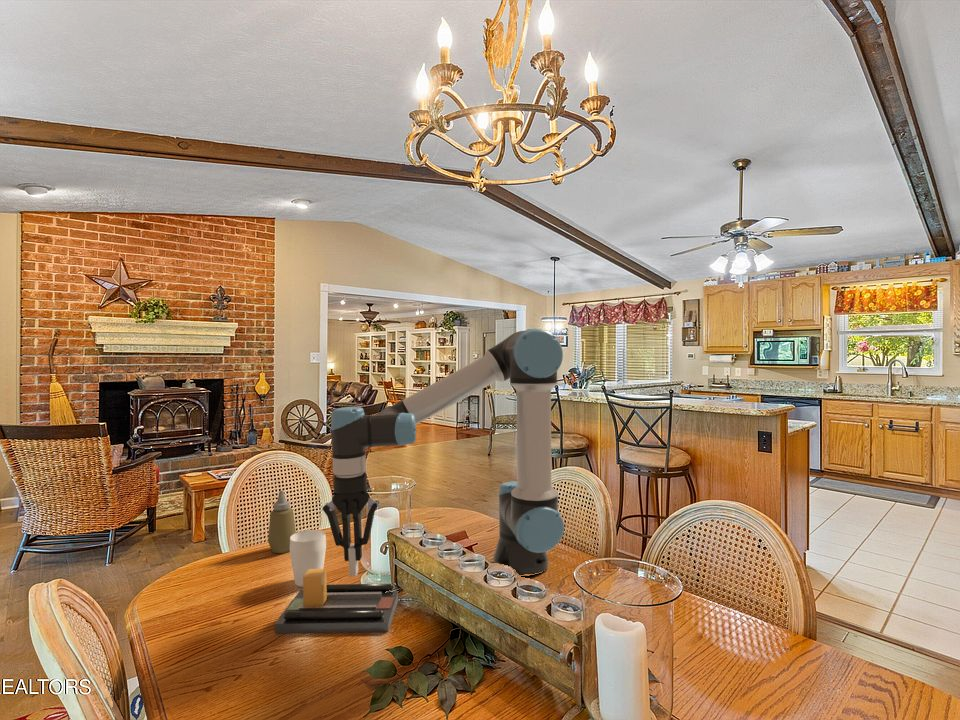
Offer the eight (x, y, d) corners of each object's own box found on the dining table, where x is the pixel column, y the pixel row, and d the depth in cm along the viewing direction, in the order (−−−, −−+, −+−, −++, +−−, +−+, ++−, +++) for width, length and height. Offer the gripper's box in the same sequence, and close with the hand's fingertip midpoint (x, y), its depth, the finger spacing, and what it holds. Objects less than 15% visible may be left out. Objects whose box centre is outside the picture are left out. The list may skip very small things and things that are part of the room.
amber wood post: (326, 598, 115) (326, 568, 115) (321, 607, 111) (320, 576, 111) (309, 599, 115) (309, 569, 115) (303, 607, 111) (302, 576, 111)
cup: (332, 574, 133) (331, 529, 133) (318, 590, 124) (317, 542, 124) (300, 573, 134) (299, 529, 134) (283, 589, 125) (282, 541, 125)
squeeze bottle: (302, 548, 151) (301, 489, 151) (279, 557, 144) (278, 496, 144) (285, 543, 156) (284, 486, 155) (262, 552, 149) (261, 492, 149)
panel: (399, 595, 121) (399, 580, 121) (388, 631, 105) (388, 614, 105) (301, 596, 121) (301, 581, 121) (275, 633, 105) (274, 616, 105)
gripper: (380, 468, 120) (384, 565, 120) (326, 471, 119) (330, 568, 120) (374, 476, 112) (379, 579, 113) (316, 479, 112) (321, 582, 112)
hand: (353, 573), depth 116 cm, fingers closed
